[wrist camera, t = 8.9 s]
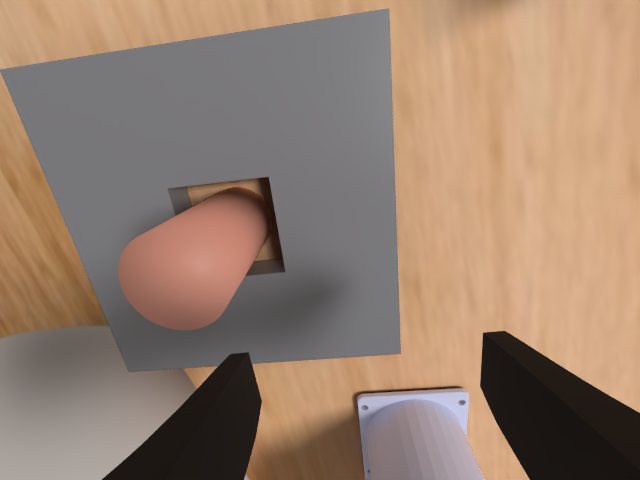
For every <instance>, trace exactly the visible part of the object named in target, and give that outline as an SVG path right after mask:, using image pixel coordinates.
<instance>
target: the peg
mask: <svg viewBox="0 0 640 480" xmlns="http://www.w3.org/2000/svg"><path fill="white" fill-rule="evenodd" d="M272 225H273V220H272V214H271V211H270V208H269V207H268V205H267V203H266V202H265V201H264V200H263V198H262V197H260V196H259V195H258V194H257V193H255V192H253V191H251V190H249V189H246V188H241V187H232V188H228V189H225V190H223V191H221V192H219V193H217V194H215V195H213V196H211V197H210V198H208V199H206V200H204V201H202V202H200V203H199V204H197V205H195V206H193V207H191V208H189V209H188V210H186V211H184V212H182V213H180V214H178V215H177V216H175V217H173V218H171V219H169V220H167V221H166V222H164V223H162V224H160V225H158V226H156V227H155V228H153V229H151V230H149V231H147V232H145V233H144V234H142V235H140V236H138V237H136V238H135V239H134V240H132V241H131V242H130V243H129V244H128V245H127V246H126V248H125V249H124V250H123V252H122V254H121V257H120V260H119V265H118V277H119V282H120V285H121V288H122V291H123V293H124V295H125V296H126V298H127V300H128V301H129V302H130V304H131V305H132V306H133V307H134V308H135V309H136V310H137V311H138V312H139V313H140V314H141V315H142V316H144V317H145V318H147V319H148V320H150V321H152V322H154V323H155V324H158V325H160V326H163V327H166V328H169V329H174V330H195V329H199V328H203V327H205V326H207V325H209V324H211V323H213V322H214V321H215V320H217V319H218V318H219V317H220V316H221V314H222V313H223V312H224V310H225V309H226V307H227V305H228V304H229V302H230V300H231V299H232V297H233V295H234V294H235V292H236V290H237V289H238V287H239V285H240V284H241V282H242V280H243V279H244V277H245V275H246V274H247V272H248V270H249V269H250V267H251V265H252V264H253V262H254V260H255V259H256V257H257V255H258V254H259V252H260V250H261V249H262V247H263V245H264V244H265V242H266V240H267V239H268V237H269V235H270V233H271V230H272Z"/></svg>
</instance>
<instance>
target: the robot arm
mask: <svg viewBox="0 0 640 480" xmlns="http://www.w3.org/2000/svg"><path fill="white" fill-rule="evenodd" d="M480 387H481V389H482V391H483V393H484V396H485V398H486V400H487V403H488V405H489V407H490V409H491V412H492V414H493V416H494V418H495V420H496V422H497V424H498V426H499V428H500V429H501V431H502V433H503V434H504V436H505V438H506V440H507V441H508V443H509V445H510V447H511V448H512V450H513V452H514V453H515V455H516V457H517V458H518V460H519V462H520V464H521V465H522V467H523V469H524V470H525V472H526V474H527V475H528V477H529V479H530V480H640V413H639V412H637V411H635V410H633V409H632V408H630V407H628V406H626V405H625V404H623V403H621V402H619V401H618V400H616V399H614V398H612V397H611V396H609V395H607V394H605V393H604V392H602V391H600V390H599V389H597V388H595V387H594V386H592V385H590V384H589V383H587V382H585V381H584V380H582V379H581V378H579V377H577V376H576V375H574V374H572V373H571V372H569V371H568V370H566V369H564V368H563V367H561V366H560V365H558V364H556V363H555V362H553V361H552V360H550V359H549V358H547V357H545V356H544V355H542V354H541V353H539V352H538V351H536V350H534V349H533V348H531V347H530V346H528V345H527V344H525V343H524V342H522V341H520V340H519V339H517V338H516V337H514V336H512V335H511V334H509V333H507V332H506V331H499V332H486V333H483V346H482V365H481V383H480ZM460 400H461V401H460ZM261 402H262V400H261V397H260V393H259V389H258V385H257V382H256V378H255V374H254V370H253V367H252V363H251V359H250V355H249V352H246V353H234V354H230V355H229V356H228V357H227V358H226V359H225V360H224V361H223V362H222V363H221V364H220V365H219V366H218V367H217V368H216V369H215V370H214V372H213V373H212V374H211V375H210V376H209V377H208V378H207V379H206V380H205V381H204V382H203V383H202V385H201V386H200V387H199V388H198V389H197V390H196V391H195V392H194V393H193V394H192V395H191V396H190V397H189V398H188V399H187V400H186V401H185V402H184V404H183V405H182V406H181V407H180V408H179V409H178V410H177V411H176V412H175V413H174V414H173V415H172V416H171V417H170V418H169V419H168V420H166V422H164V423H163V424H162V425H161V426H160V427H159V428H158V430H156V431H155V432H154V433H153V434H152V435H151V436H150V437H149V438H148V439H147V440H146V441H145V442H144V443H143V444H142V445H141V446H140V447H139V448H137V449H136V450H135V451H134V452H133V453H132V454H131V455H130V456H129V457H127V458H126V459H125V460H124V461H123V462H122V463H121V464H119V465H118V466H117V467H116V468H115V469H114V470H113V471H111V472H110V473H109V474H108V475H107V476H106V477H104V478H103V479H102V480H244V477H245V474H246V470H247V467H248V463H249V460H250V456H251V452H252V449H253V445H254V441H255V438H256V433H257V427H258V422H259V415H260V409H261ZM357 403H358V412H359V422H360V432H361V442H362V452H363V462H364V471H365V479H366V480H485V479H484V477H483V474H482V472H481V470H480V467H479V465H478V463H477V461H476V458H475V456H474V454H473V451H472V449H471V447H470V444H469V442H468V440H467V438H466V436H467V421H468V406H469V394H468V392H467V391H466V390H465V389H463V388H455V389H438V390H420V391H402V392H385V393H367V394H361V395H359V396H358V397H357ZM363 405H366V406H363Z"/></svg>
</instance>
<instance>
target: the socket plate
mask: <svg viewBox="0 0 640 480" xmlns="http://www.w3.org/2000/svg"><path fill="white" fill-rule="evenodd" d="M0 72H1V74H2V76H3V79H4V81H5V83H6V86H7V88H8V90H9V93H10V95H11V97H12V100H13V102H14V104H15V107H16V109H17V111H18V114H19V116H20V118H21V121H22V123H23V126H24V128H25V130H26V133H27V135H28V137H29V140H30V142H31V144H32V147H33V149H34V151H35V154H36V156H37V158H38V161H39V163H40V165H41V168H42V170H43V172H44V175H45V177H46V179H47V182H48V184H49V186H50V189H51V191H52V193H53V196H54V198H55V200H56V203H57V205H58V207H59V210H60V212H61V214H62V217H63V219H64V221H65V224H66V226H67V228H68V231H69V233H70V235H71V238H72V240H73V242H74V245H75V247H76V249H77V252H78V254H79V256H80V259H81V261H82V263H83V266H84V268H85V270H86V273H87V275H88V277H89V280H90V282H91V284H92V287H93V289H94V291H95V294H96V296H97V298H98V301H99V303H100V305H101V308H102V310H103V312H104V315H105V317H106V319H107V322H108V324H109V326H110V329H111V331H112V333H113V336H114V338H115V340H116V343H117V345H118V348H119V350H120V352H121V355H122V357H123V359H124V361H125V364H126V366H127V369H128V371H129V372H136V371H150V370H166V369H181V368H196V367H211V366H219V365H220V364H221V363H222V362H223V361H224V360H225V359H226V358H227V357H228V356H229V355H230V354H234V353H246V352H249V355H250V359H251V363H252V364H256V363H271V362H286V361H301V360H316V359H331V358H346V357H361V356H376V355H391V354H401V345H400V315H399V286H398V256H397V226H396V196H395V167H394V137H393V107H392V78H391V48H390V18H389V9H382V10H376V11H370V12H363V13H357V14H351V15H344V16H338V17H332V18H325V19H319V20H312V21H306V22H300V23H293V24H287V25H281V26H274V27H268V28H262V29H255V30H249V31H243V32H236V33H230V34H223V35H217V36H211V37H204V38H198V39H192V40H185V41H179V42H173V43H166V44H160V45H154V46H147V47H141V48H135V49H128V50H122V51H115V52H109V53H103V54H96V55H90V56H84V57H77V58H71V59H65V60H58V61H52V62H46V63H39V64H33V65H26V66H20V67H14V68H7V69H1V70H0ZM262 177H269V181H270V187H271V193H272V198H273V204H274V210H275V215H276V221H277V227H278V232H279V238H280V244H281V249H282V255H283V259H275V260H265V261H254V262H253V264H252V265H251V267H250V269H249V270H248V272H247V274H246V275H245V277H244V279H243V280H242V282H241V284H240V285H239V287H238V289H237V290H236V292H235V294H234V295H233V297H232V299H231V300H230V302H229V304H228V305H227V307H226V309H225V310H224V312H223V313H222V314H221V316H220V317H219V318H218V319H217V320H215V321H214V322H213V323H211V324H209V325H207V326H205V327H203V328H199V329H195V330H174V329H169V328H166V327H163V326H160V325H158V324H155V323H154V322H152V321H150V320H148V319H147V318H145V317H144V316H142V315H141V314H140V313H139V312H138V311H137V310H136V309H135V308H134V307H133V306H132V305H131V304H130V302H129V301H128V300H127V298H126V296H125V295H124V293H123V291H122V288H121V285H120V282H119V277H118V265H119V260H120V257H121V254H122V252H123V250H124V249H125V248H126V246H127V245H128V244H129V243H130V242H131V241H132V240H134V239H135V238H136V237H138V236H140V235H142V234H144V233H145V232H147V231H149V230H151V229H153V228H155V227H156V226H158V225H160V224H162V223H164V222H166V221H167V220H169V219H171V218H173V217H175V216H177V215H178V214H180V213H182V212H184V211H186V210H188V209H189V208H191V207H192V205H191V202H190V198H189V194H188V191H187V187H186V186H194V185H202V184H211V183H219V182H228V181H236V180H245V179H253V178H262Z"/></svg>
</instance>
